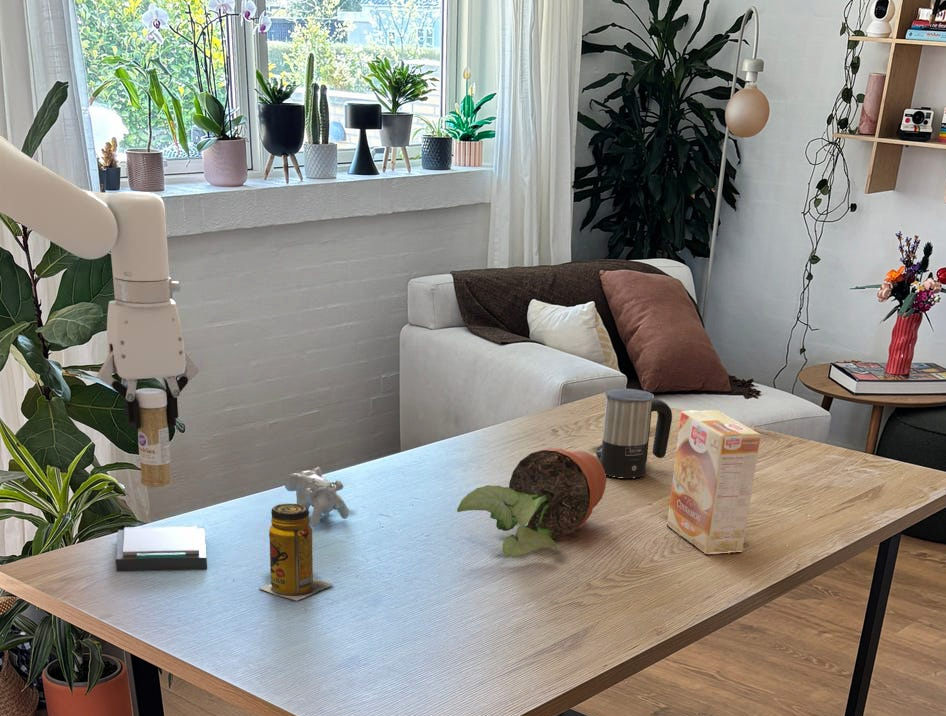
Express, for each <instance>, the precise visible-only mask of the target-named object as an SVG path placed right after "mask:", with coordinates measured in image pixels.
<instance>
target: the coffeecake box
mask: <svg viewBox="0 0 946 716" xmlns="http://www.w3.org/2000/svg"><path fill="white" fill-rule="evenodd" d="M761 437H762V433H759V432H758V431H755V430H754V429H752V428H750V427H748V426H746V425H745V424H744V423H741V422H740V421H737V420H735V419H734V418H732V417H731V416H729V415H727V414H726V413H723V412H722V411H720V410H716V409H715V410H713V409H712V410H695V409H694V410H693V409H691V410H682V411H680V419H679V427H678V434H677V443H676V450H675V457H674V458H675V459H674V467H673V475H672V481H671V490H670V498H669V506H668V514H667V521H666V525H667V524H668V525H669V526H670V527H671V528H673V529H674V530H675V531H677V532H678V533H679V534H681V535H682V536H683V537H685V538H686V539H688V540H689V541H690V542H692V543H693V544H694V545H696V546H697V547H699V548H700V549H701V550H703V551H704V552H706V553H710V552H728V551H742V552H743V549H744V542H745V536H746V530H747V524H748V518H749V516H748V515H749V510H750V505H751V498H752V492H753V487H754V486H753V485H754V481H755V480H754V479H755V474H756V473H755V472H756V467H757V461H758V454H759V447H760V442H761Z"/></svg>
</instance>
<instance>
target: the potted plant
mask: <svg viewBox="0 0 946 716" xmlns="http://www.w3.org/2000/svg"><path fill="white" fill-rule="evenodd" d="M606 486H607V476H606V475H605V471H604V469H603V467H602V464H601V462H600V460H599V458H598V457H596V456H595V455H594V454H591V453H589V452H587V451H582V450H566V449H563V448H556V447H555V448H553V447H549V448H545V449H541V450H538V451H535V452H531V453H530V454H528V455H527V456H525V457H524V458H523V459H521V460H519V462H518V464H517V465H516V466H515V468H514V469H513V471H512V473H511V478H510V480H509V483H508V487H507V486H501V485H490V484H489V485H484V486H481V487H477V488H475V489H474V490H472V491H471V492H469V493H467V495H465V497H463V498H462V499H461V501H460V503H459V505H458V506H457V509H456V511H457V513H461V512H467V511H468V512H469V511H485V512H489V513H490V519H493V520H495V521H496V523H495V524H496V525H495V527H496V528H497V530H498V531H500V530H501V531H503V532H509V531H511V530H513V529H515V527H516V526H517V525H518V524H520V525H519V526H518V527H517V529H516V532H515V535H514V534H511V535H509V536H507V537H506V538H505V539H504V540H503V542H502V553H503V554H504V556H505V557H512V558H515V557H518V556H525V555H527V554H528V553H532V552H534V551H537V550H540V549H543V548H551V547H552V548H554V549H556V550H558V546H557V543H556V542H555V541H554V539H555V538H559V537H564V536H567V535H569V534H572V533H573V532H574V531H577V529H579V528H581V527H582V526H584V524H586V521H587V520H588V519H589V518H590V517H591V515H592V512H593V509H594V508H595V507H596V506H598V504H599V503H600V502H601V500H602V499H603V496H604V494H605V492H606V491H605V490H606ZM553 537H555V538H553Z"/></svg>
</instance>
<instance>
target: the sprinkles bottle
mask: <svg viewBox="0 0 946 716" xmlns="http://www.w3.org/2000/svg"><path fill="white" fill-rule="evenodd" d="M135 398H136V400H137V401H138V402H139V412H140V425H141V428H140V429H137V438H138V440H137V441H138V443H137V444H138V454H139V455H138V458H139V463H140V476H141V477H140V483H141V485H143V486H145V487H148V488H158V489H159V488H164V487H167V486H169V485H171V484H172V483H173V479H172V473H171V472H172V471H171V452H170V449H171V448H170V435H169V426H168V425H169V424H168V423H167V412H166V408H167V406H166V405H167V394H166V392H165V389H161V388H160V389H159V388H153V387H152V388H151V387H146V388H145V387H143V388H138V389H136V391H135Z"/></svg>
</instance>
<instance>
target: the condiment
mask: <svg viewBox="0 0 946 716" xmlns="http://www.w3.org/2000/svg"><path fill="white" fill-rule="evenodd" d="M270 513H271V519H270V522H271V525H270V526H269V529H268V537H269V564H270V565H269V568H270V569H269V570H270V583H269V584H266V585H263V586H262V587H258V589H259V590H263V591H264V592H267V593H269V594H272V595H275V596H279V597H283V598H286V599H290V600H293V601H296V602H297V601H300V600H302V599H306V598H307V597H310V596H312V595H315V594H316V593H318V592H320V591H323V590H325V589H327V588H329V587H331V586H334V585H335V583H333V582H327V581H324V580H320V579H317V578H314V566H313V563H314V561H313V559H314V558H313V557H314V556H313V529H312V528H313V527H311V524H310V510H309V509H307V508H306V507H305V506H303V505H299V504H297V503H280V504H277V505H274V506H273V507H272V508H271V512H270Z"/></svg>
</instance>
